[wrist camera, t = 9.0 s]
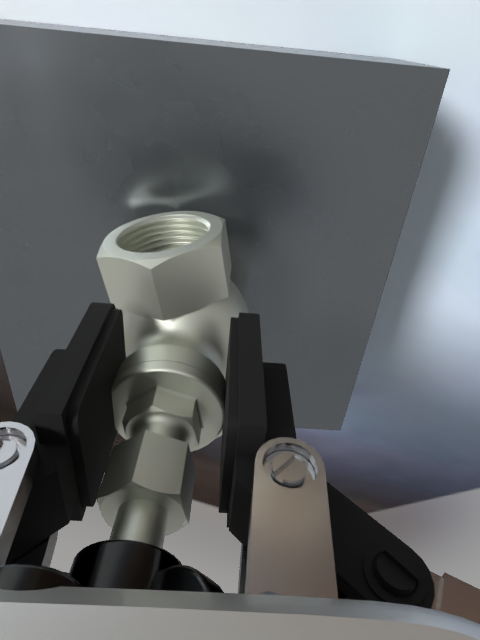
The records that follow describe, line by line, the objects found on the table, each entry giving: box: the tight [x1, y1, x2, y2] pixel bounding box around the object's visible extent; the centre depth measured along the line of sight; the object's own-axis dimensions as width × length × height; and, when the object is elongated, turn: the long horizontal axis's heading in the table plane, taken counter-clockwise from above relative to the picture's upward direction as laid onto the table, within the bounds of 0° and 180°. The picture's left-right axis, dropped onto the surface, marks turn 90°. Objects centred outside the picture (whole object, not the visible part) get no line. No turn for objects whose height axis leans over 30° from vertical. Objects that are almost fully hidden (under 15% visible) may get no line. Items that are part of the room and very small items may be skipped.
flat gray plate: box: [0, 19, 450, 430], centre depth 17 cm, size 14×14×5 cm
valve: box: [0, 211, 249, 593], centre depth 11 cm, size 7×7×12 cm
